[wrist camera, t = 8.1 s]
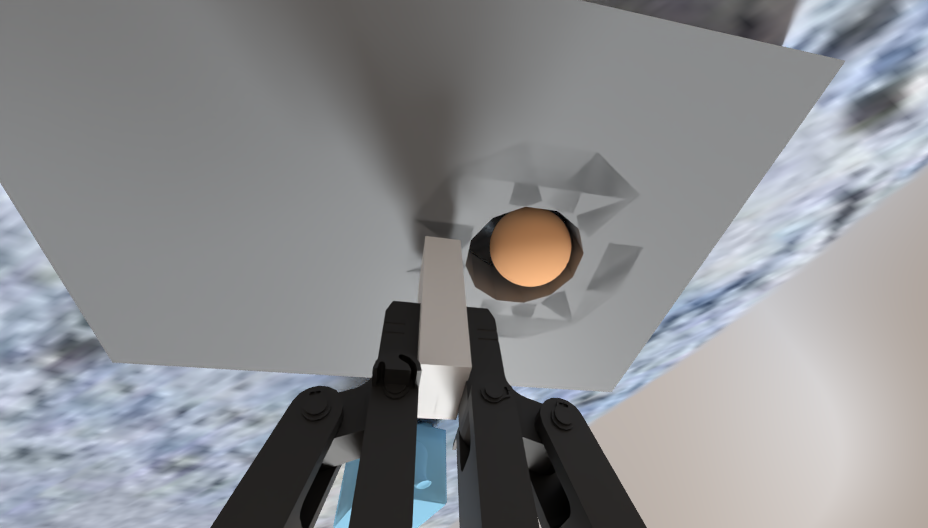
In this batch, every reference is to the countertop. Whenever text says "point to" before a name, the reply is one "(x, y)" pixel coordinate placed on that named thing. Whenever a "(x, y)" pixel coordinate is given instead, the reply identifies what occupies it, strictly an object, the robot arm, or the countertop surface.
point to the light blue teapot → (426, 485)
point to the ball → (530, 246)
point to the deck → (379, 168)
